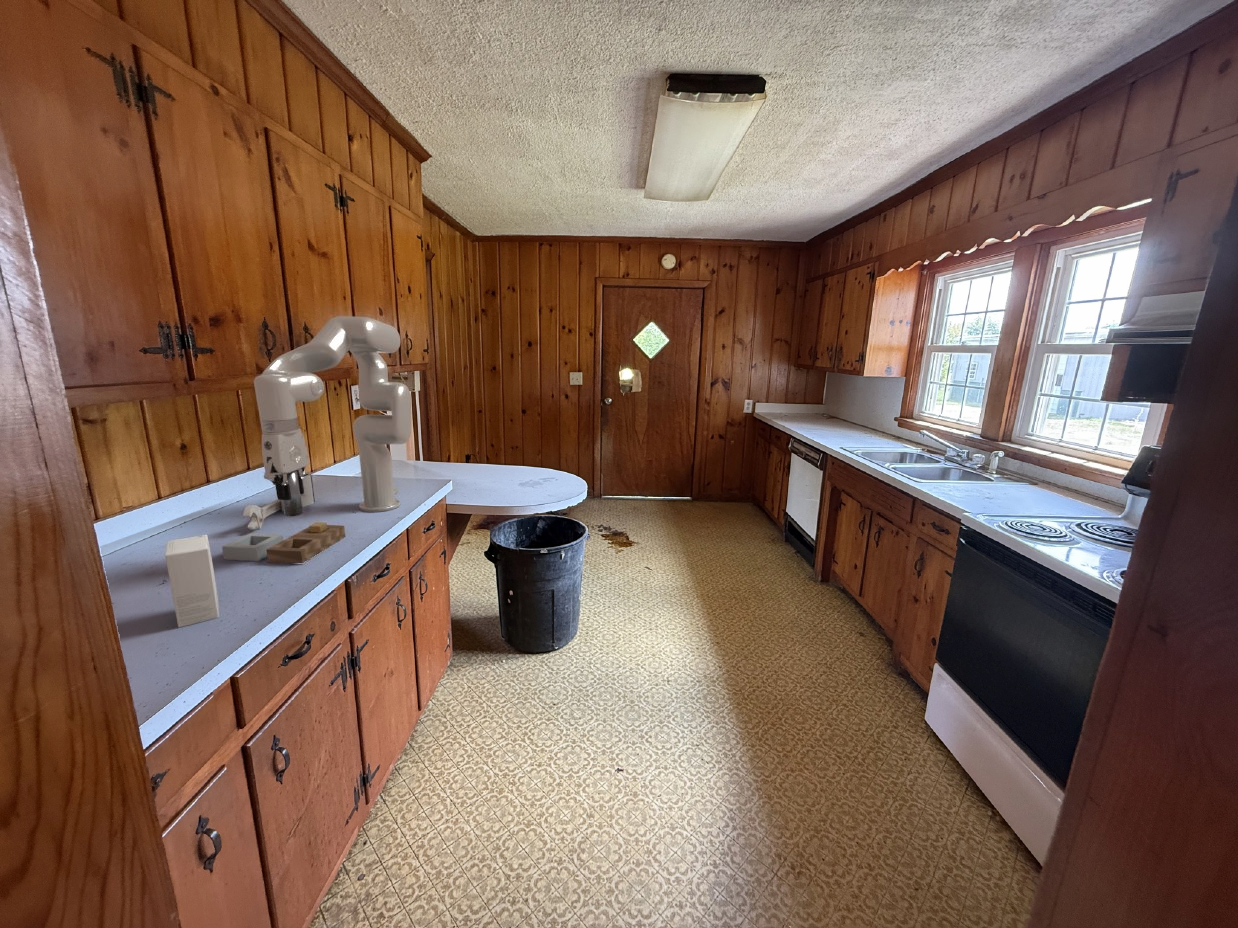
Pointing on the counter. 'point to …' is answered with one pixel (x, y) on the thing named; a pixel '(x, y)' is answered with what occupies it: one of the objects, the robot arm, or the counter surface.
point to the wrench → (260, 513)
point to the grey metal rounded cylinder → (293, 496)
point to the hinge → (306, 491)
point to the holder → (250, 547)
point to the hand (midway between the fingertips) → (291, 495)
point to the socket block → (304, 545)
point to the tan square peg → (318, 527)
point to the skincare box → (192, 580)
